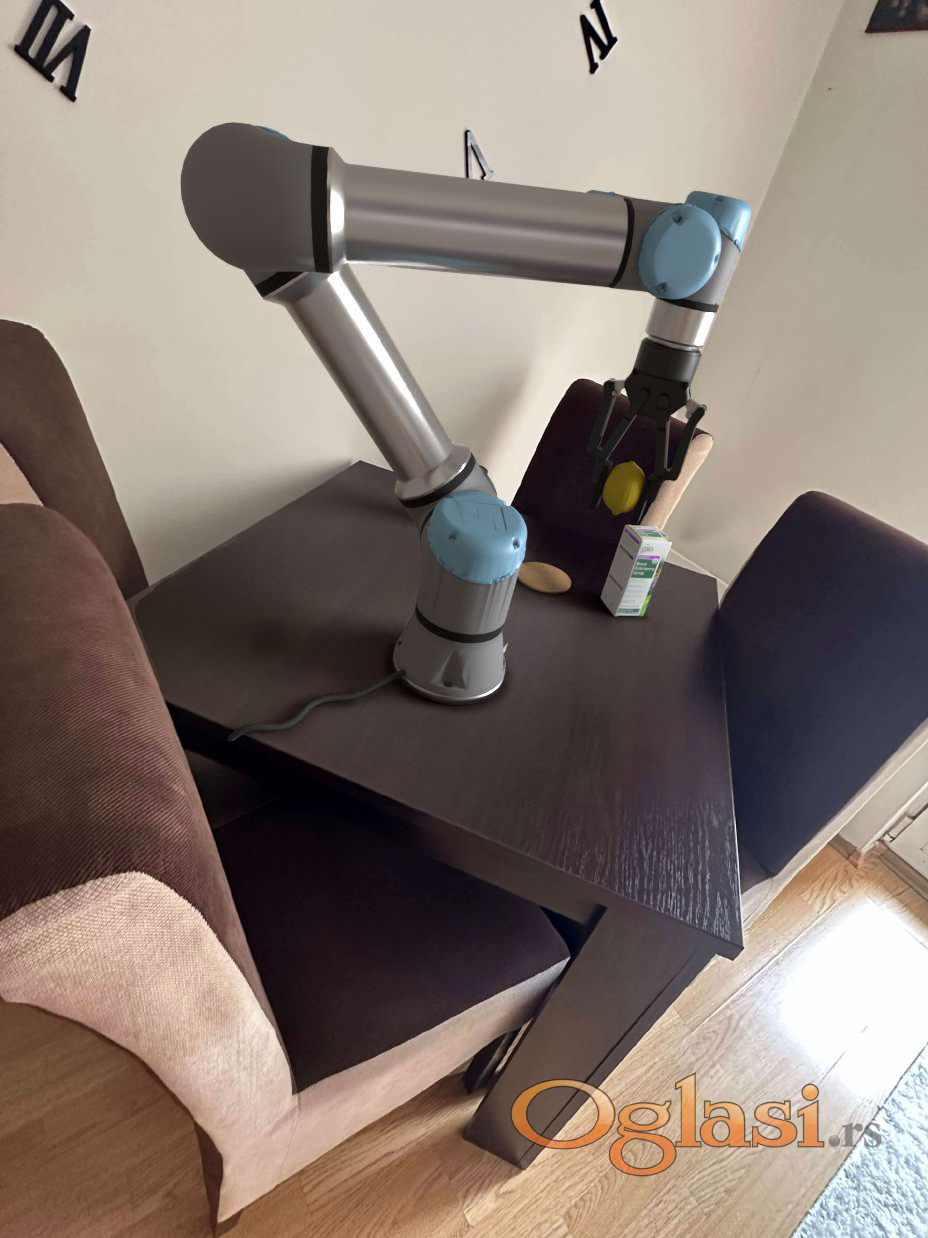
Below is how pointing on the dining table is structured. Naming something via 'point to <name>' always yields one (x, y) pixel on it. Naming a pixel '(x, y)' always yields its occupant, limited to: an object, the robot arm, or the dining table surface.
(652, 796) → the dining table surface
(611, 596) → the syrup box
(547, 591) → the coaster
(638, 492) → the lemon
